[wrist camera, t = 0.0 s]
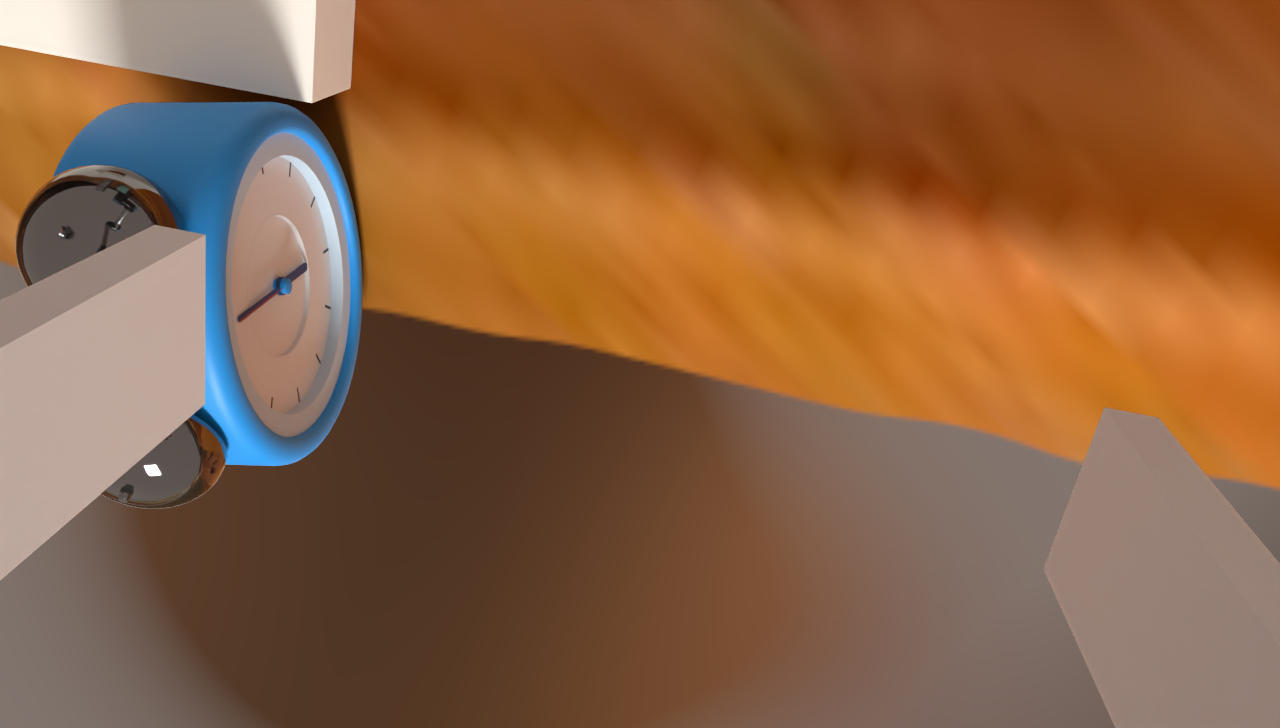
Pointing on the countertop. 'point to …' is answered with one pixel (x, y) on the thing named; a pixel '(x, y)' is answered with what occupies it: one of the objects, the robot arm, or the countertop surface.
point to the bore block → (199, 40)
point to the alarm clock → (222, 271)
